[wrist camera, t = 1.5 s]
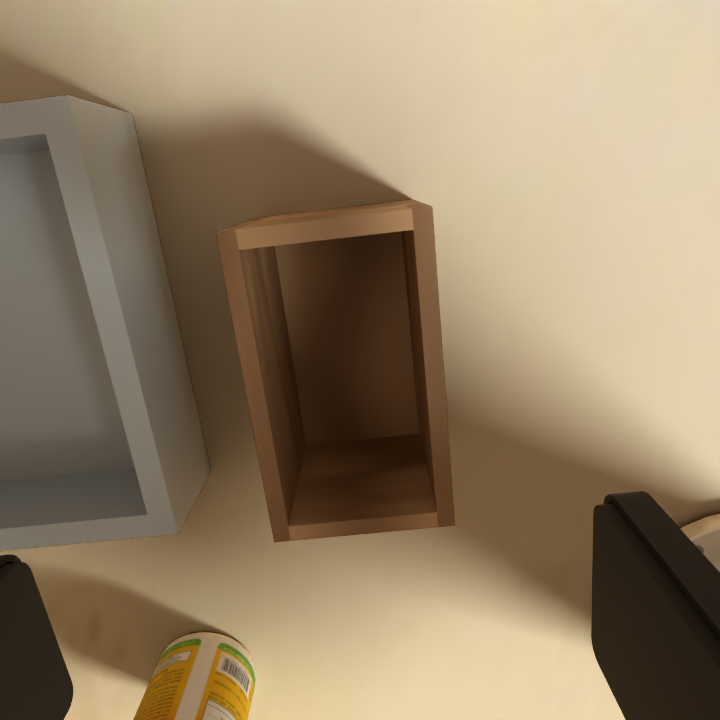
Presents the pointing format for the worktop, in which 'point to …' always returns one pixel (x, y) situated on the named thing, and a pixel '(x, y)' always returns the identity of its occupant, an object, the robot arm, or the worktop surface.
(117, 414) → the grey crate
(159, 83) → the worktop surface
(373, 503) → the walnut crate
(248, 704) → the supplement bottle
